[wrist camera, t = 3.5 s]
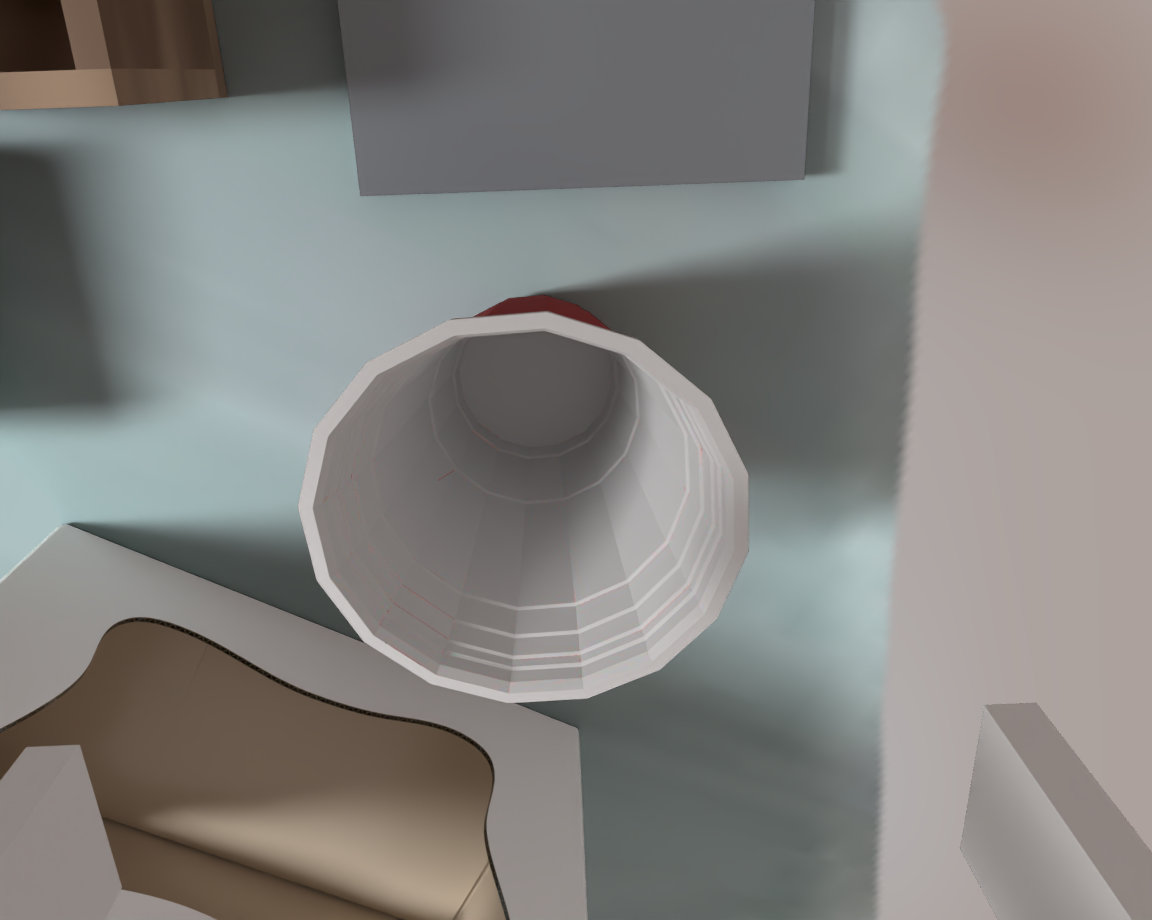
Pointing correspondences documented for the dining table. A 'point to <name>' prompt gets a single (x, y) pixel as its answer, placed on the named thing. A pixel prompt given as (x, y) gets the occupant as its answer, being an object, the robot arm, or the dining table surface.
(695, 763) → the dining table surface
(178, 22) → the walnut box
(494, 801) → the gable box
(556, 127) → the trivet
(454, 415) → the plastic cup
